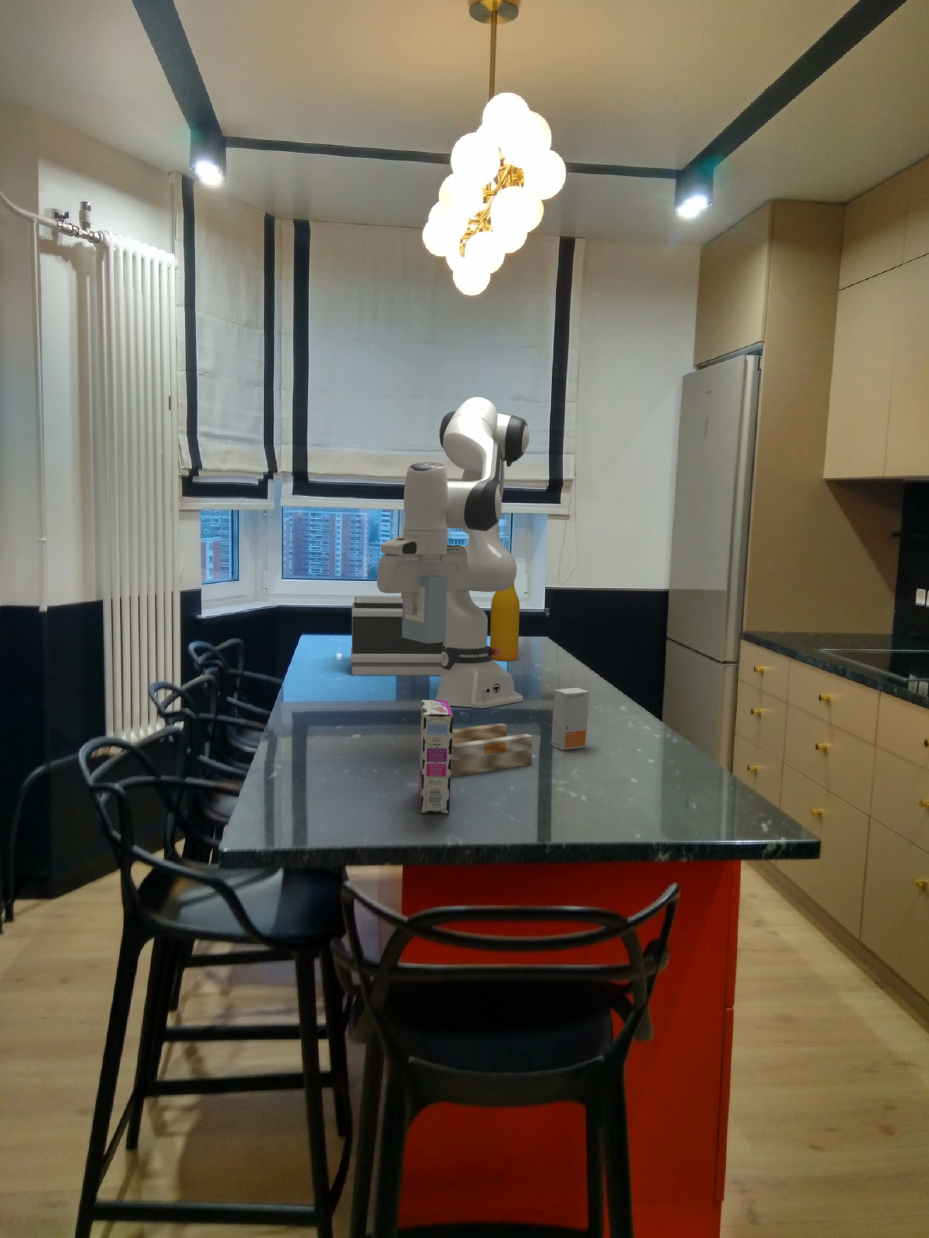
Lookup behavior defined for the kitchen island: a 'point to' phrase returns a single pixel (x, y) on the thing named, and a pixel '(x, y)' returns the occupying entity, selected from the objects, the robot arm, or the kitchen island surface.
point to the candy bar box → (435, 756)
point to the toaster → (388, 641)
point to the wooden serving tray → (488, 749)
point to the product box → (427, 612)
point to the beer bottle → (505, 624)
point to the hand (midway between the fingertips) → (423, 614)
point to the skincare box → (570, 718)
